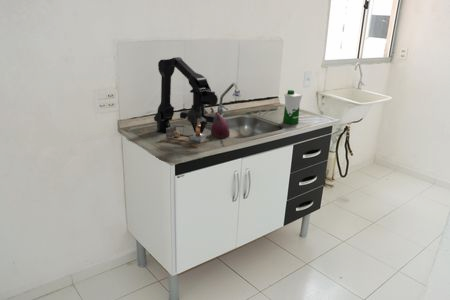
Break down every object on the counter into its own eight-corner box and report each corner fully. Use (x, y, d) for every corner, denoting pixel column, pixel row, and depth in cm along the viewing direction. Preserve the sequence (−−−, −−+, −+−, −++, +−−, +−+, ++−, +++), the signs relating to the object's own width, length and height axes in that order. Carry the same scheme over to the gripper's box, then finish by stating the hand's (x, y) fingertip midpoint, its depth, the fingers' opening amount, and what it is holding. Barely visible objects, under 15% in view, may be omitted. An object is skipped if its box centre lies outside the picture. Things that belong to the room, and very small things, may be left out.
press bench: (163, 141, 187) (163, 129, 185) (176, 135, 198) (175, 124, 195) (198, 147, 180) (198, 135, 178) (208, 141, 190) (209, 129, 188)
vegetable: (214, 144, 196) (209, 119, 188) (209, 136, 204) (204, 112, 197) (232, 138, 197) (228, 114, 190) (227, 131, 206) (222, 107, 198)
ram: (189, 141, 184) (189, 125, 182) (195, 137, 189) (195, 123, 187) (200, 143, 182) (201, 127, 179) (206, 139, 187) (206, 124, 184)
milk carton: (289, 120, 237) (292, 89, 231) (300, 123, 231) (304, 91, 224) (280, 122, 232) (283, 90, 225) (291, 125, 225) (294, 93, 219)
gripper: (173, 103, 175) (174, 134, 181) (208, 108, 168) (207, 140, 174) (185, 99, 185) (185, 128, 190) (218, 103, 178) (217, 134, 183)
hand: (198, 133), depth 184 cm, fingers closed on ram, 3 cm apart
